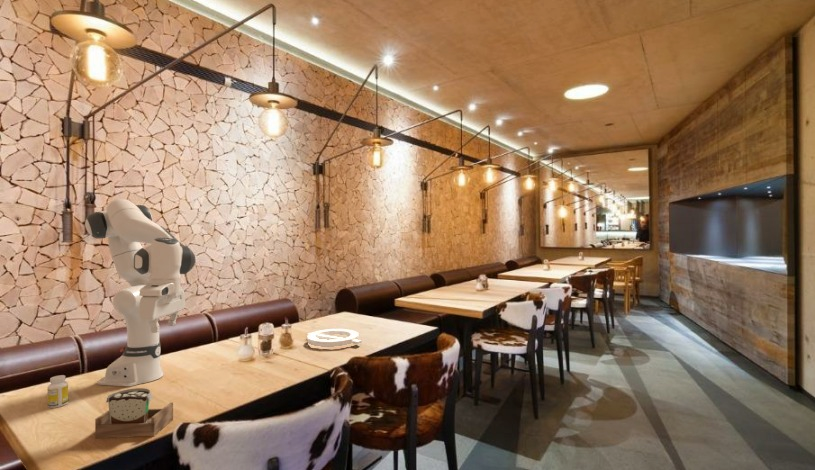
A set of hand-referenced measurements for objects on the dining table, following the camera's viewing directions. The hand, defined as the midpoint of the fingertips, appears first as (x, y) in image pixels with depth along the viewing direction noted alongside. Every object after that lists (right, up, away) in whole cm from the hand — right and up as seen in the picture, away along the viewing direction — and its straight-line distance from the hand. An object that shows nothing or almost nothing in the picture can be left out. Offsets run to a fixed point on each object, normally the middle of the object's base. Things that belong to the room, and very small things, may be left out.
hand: (163, 328), depth 129 cm
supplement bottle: (-42, -29, +7) cm, 51 cm away
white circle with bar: (+39, -30, +88) cm, 101 cm away
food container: (-3, -27, -10) cm, 29 cm away
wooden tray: (-3, -29, -9) cm, 30 cm away
